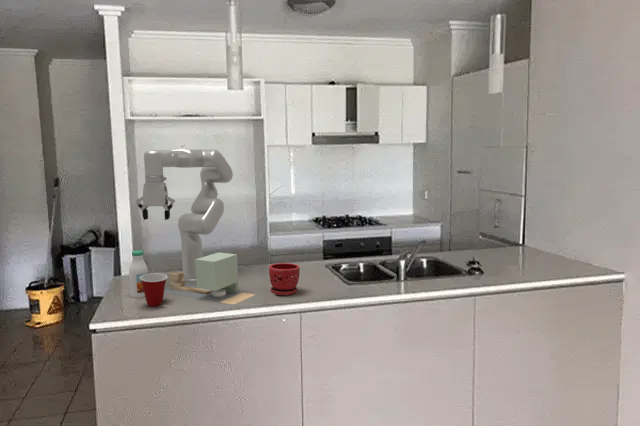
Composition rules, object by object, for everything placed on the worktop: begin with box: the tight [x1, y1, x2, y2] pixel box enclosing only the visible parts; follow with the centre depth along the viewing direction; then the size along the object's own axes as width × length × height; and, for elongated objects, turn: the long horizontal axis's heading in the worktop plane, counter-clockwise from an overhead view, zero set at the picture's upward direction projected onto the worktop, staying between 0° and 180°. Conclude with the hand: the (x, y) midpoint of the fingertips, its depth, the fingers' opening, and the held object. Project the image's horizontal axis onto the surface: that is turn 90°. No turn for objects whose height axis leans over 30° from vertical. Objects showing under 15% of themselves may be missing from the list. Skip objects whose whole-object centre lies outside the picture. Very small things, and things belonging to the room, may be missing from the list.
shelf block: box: [195, 252, 240, 293], centre depth 227 cm, size 15×10×18 cm, turn 151°
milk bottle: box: [128, 249, 149, 298], centre depth 229 cm, size 8×8×20 cm
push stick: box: [169, 271, 212, 295], centre depth 234 cm, size 4×20×7 cm, turn 61°
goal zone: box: [220, 292, 255, 306], centre depth 223 cm, size 15×7×1 cm, turn 151°
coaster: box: [212, 289, 226, 297], centre depth 227 cm, size 6×6×2 cm
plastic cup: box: [140, 272, 168, 308], centre depth 218 cm, size 11×11×12 cm
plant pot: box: [268, 262, 301, 296], centre depth 233 cm, size 13×13×12 cm
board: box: [164, 283, 242, 303], centre depth 233 cm, size 15×36×1 cm, turn 61°
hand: (156, 219), depth 233 cm, fingers open, 9 cm apart
